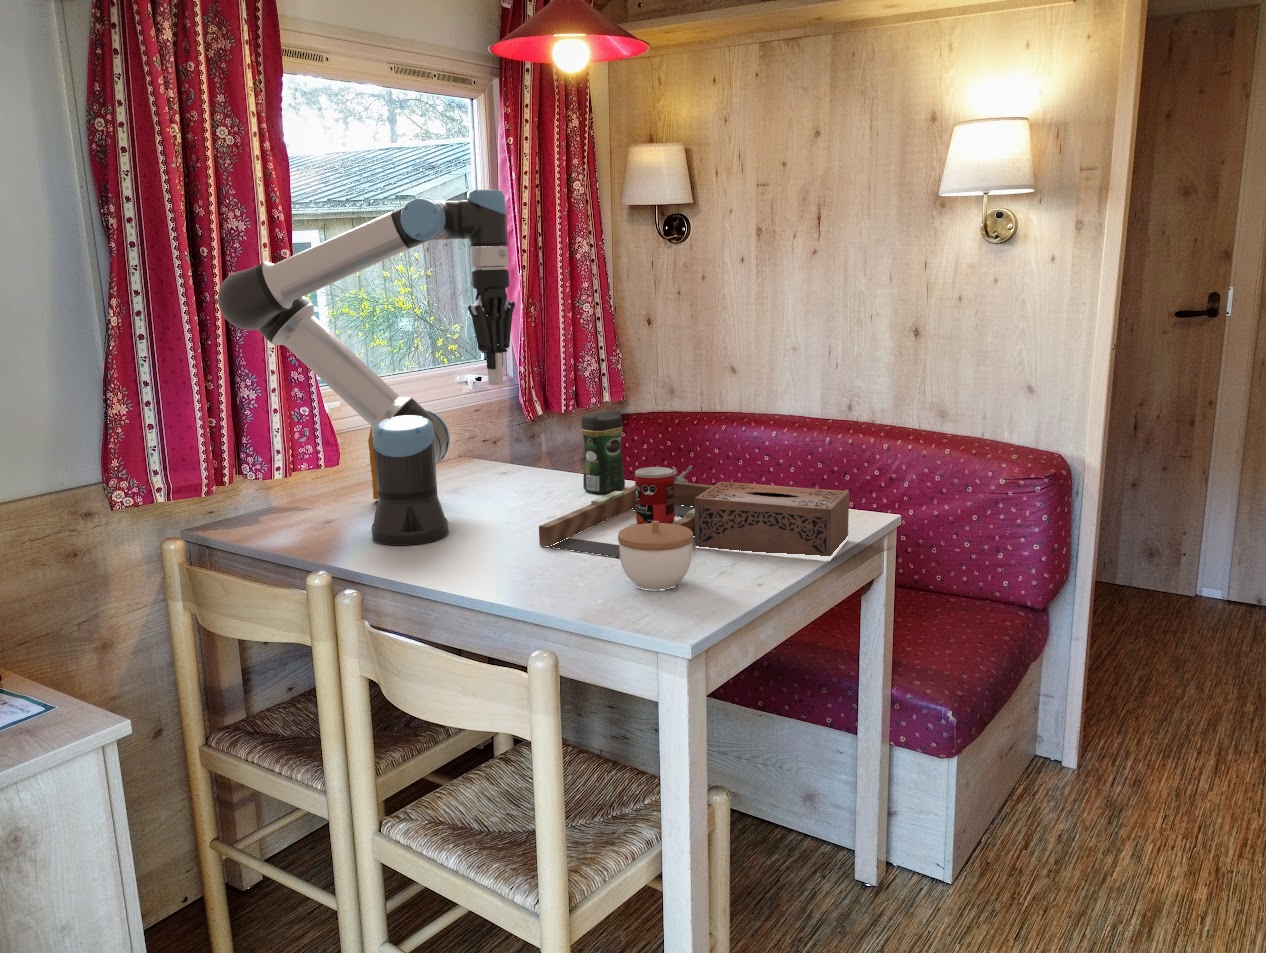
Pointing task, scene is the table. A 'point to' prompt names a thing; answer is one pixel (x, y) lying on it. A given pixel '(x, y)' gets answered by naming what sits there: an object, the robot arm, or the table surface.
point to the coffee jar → (602, 452)
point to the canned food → (654, 495)
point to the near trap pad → (589, 547)
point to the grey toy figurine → (681, 477)
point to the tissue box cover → (771, 518)
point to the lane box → (615, 512)
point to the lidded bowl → (655, 554)
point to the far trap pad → (679, 510)
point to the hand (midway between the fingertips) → (496, 384)
